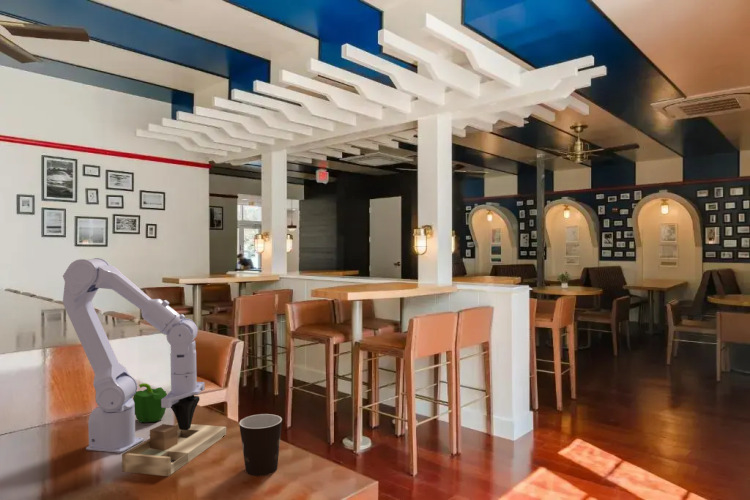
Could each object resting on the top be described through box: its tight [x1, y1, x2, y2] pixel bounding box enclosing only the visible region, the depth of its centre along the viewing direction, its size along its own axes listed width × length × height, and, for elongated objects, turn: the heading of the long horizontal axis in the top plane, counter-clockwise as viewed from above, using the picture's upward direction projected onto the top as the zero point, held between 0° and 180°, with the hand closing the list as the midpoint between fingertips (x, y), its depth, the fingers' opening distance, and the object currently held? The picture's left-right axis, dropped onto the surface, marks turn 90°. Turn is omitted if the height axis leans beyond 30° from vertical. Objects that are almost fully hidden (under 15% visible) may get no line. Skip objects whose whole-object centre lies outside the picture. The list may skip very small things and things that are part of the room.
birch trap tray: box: [121, 422, 227, 477], centre depth 117 cm, size 11×23×4 cm, turn 167°
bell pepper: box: [133, 383, 168, 423], centre depth 138 cm, size 8×8×10 cm
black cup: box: [238, 413, 283, 477], centre depth 109 cm, size 12×9×10 cm
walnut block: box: [149, 423, 178, 451], centre depth 115 cm, size 4×4×4 cm
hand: (184, 428), depth 123 cm, fingers closed
